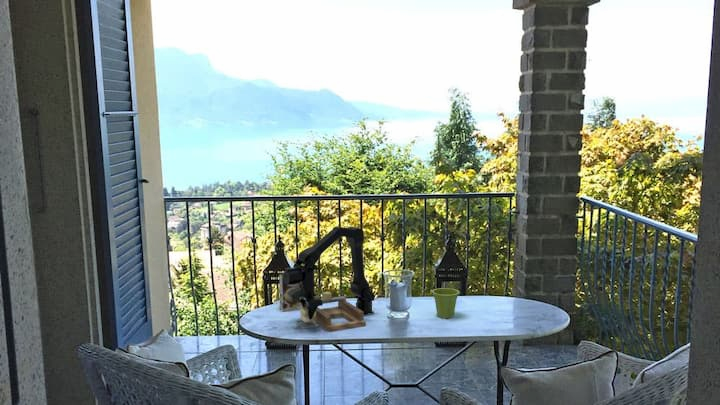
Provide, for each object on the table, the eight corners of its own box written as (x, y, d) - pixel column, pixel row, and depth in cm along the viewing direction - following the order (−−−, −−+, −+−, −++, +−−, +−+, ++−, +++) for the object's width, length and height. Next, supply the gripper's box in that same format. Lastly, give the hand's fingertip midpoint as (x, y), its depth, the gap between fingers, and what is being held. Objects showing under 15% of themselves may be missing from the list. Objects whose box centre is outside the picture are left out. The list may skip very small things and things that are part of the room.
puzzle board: (342, 309, 270) (342, 298, 269) (365, 325, 248) (365, 313, 247) (307, 315, 262) (307, 303, 262) (328, 331, 240) (328, 318, 240)
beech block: (311, 317, 252) (311, 305, 251) (315, 320, 247) (315, 309, 247) (300, 318, 250) (300, 307, 249) (304, 322, 245) (304, 310, 245)
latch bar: (343, 298, 268) (343, 289, 267) (346, 300, 265) (346, 291, 264) (308, 303, 260) (308, 294, 260) (310, 305, 258) (310, 296, 257)
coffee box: (282, 311, 267) (282, 277, 265) (279, 308, 273) (278, 273, 271) (302, 309, 270) (301, 275, 268) (298, 305, 276) (297, 272, 274)
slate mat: (313, 321, 254) (313, 320, 254) (319, 326, 247) (319, 325, 247) (296, 323, 251) (296, 322, 251) (302, 329, 244) (302, 328, 244)
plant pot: (457, 312, 266) (458, 288, 265) (459, 320, 254) (460, 295, 253) (431, 311, 267) (431, 287, 266) (432, 320, 256) (432, 294, 254)
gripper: (282, 278, 251) (282, 313, 253) (296, 288, 235) (297, 326, 237) (306, 275, 256) (307, 310, 258) (322, 285, 239) (323, 322, 241)
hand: (308, 317), depth 248 cm, fingers closed on beech block, 5 cm apart
